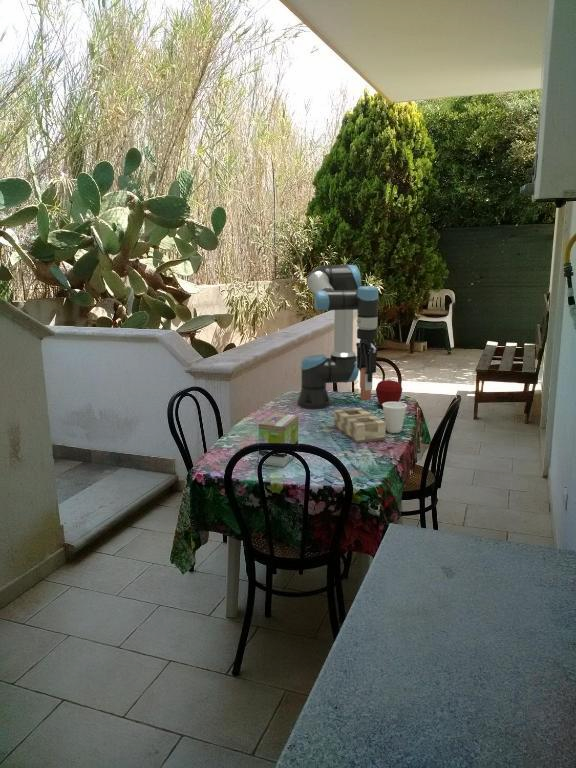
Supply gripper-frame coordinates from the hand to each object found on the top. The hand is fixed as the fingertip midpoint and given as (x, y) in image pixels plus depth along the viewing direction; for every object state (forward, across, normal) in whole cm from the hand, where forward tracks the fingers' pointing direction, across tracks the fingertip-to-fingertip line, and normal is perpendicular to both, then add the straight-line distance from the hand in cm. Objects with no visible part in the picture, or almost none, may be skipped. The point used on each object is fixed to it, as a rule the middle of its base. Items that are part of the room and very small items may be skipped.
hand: (365, 388), depth 225 cm
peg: (+4, 0, 0) cm, 4 cm away
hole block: (+20, -6, 0) cm, 20 cm away
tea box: (+20, +10, -39) cm, 45 cm away
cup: (+20, -3, +14) cm, 25 cm away
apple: (+20, -36, +30) cm, 51 cm away
